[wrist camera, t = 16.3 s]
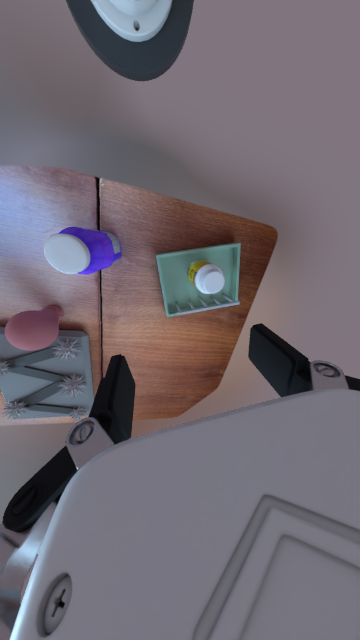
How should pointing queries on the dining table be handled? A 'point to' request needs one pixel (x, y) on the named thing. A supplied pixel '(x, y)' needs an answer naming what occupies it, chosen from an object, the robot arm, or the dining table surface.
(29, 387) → the decorative plate
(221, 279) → the supplement bottle
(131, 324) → the dining table surface
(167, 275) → the dish rack
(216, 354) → the dining table surface
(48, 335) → the light bulb
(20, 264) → the dining table surface
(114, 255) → the bottle
